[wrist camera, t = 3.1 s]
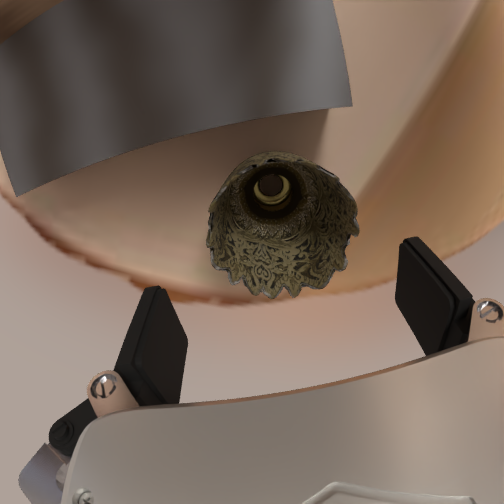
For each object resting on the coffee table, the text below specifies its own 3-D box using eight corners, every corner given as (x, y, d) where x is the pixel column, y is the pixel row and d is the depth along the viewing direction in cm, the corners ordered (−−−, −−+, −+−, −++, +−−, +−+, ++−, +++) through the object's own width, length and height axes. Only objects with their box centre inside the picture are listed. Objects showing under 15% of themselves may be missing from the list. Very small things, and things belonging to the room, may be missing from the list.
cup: (229, 122, 19) (221, 143, 12) (334, 148, 20) (381, 184, 13) (210, 221, 22) (195, 288, 15) (304, 239, 23) (328, 308, 16)
